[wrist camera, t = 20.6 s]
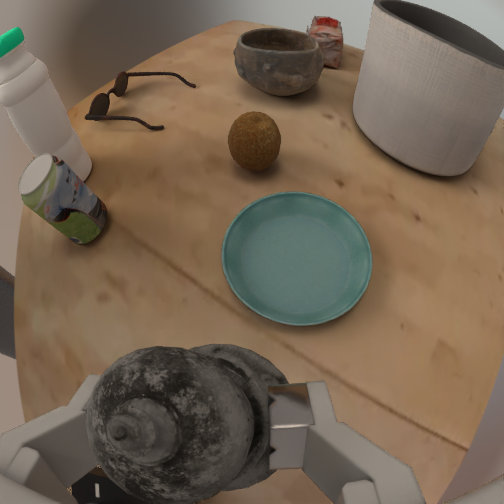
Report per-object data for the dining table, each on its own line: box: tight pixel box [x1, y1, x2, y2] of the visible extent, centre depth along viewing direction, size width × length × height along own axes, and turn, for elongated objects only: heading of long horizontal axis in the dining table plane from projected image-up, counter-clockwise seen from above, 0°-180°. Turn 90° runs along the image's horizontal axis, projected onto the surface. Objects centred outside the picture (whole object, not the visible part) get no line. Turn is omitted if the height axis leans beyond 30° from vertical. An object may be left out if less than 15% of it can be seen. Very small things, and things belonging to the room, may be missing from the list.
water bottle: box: [0, 27, 92, 182], centre depth 28 cm, size 7×7×25 cm
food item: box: [306, 16, 343, 68], centre depth 51 cm, size 14×8×10 cm, turn 170°
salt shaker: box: [86, 344, 289, 504], centre depth 8 cm, size 6×6×12 cm
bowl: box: [234, 28, 325, 96], centre depth 44 cm, size 14×15×10 cm
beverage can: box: [18, 153, 107, 244], centre depth 29 cm, size 6×7×12 cm
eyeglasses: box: [85, 72, 196, 130], centre depth 45 cm, size 15×15×5 cm
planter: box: [353, 0, 504, 176], centre depth 34 cm, size 22×22×20 cm
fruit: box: [228, 112, 281, 171], centre depth 35 cm, size 6×6×8 cm
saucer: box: [221, 192, 373, 326], centre depth 30 cm, size 15×15×3 cm
